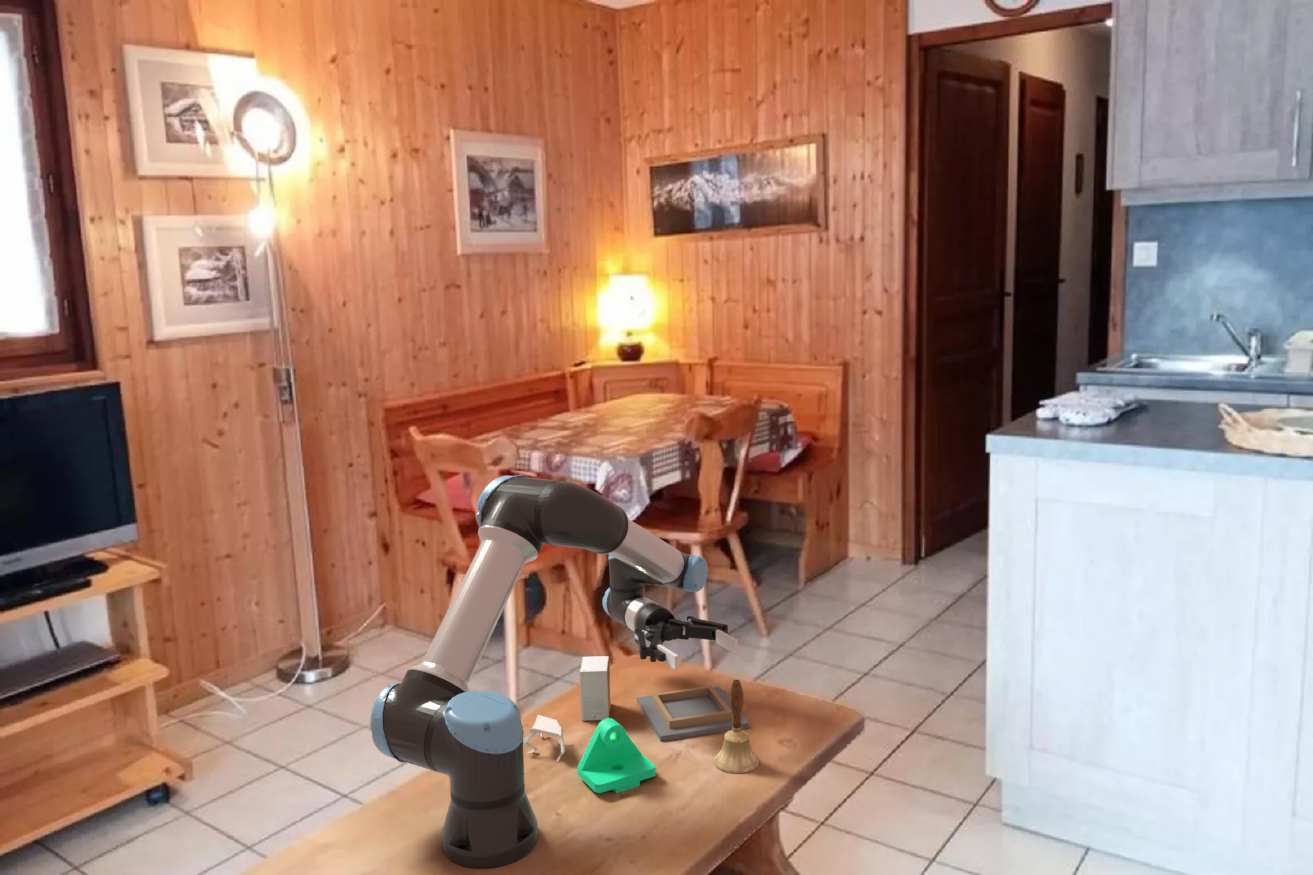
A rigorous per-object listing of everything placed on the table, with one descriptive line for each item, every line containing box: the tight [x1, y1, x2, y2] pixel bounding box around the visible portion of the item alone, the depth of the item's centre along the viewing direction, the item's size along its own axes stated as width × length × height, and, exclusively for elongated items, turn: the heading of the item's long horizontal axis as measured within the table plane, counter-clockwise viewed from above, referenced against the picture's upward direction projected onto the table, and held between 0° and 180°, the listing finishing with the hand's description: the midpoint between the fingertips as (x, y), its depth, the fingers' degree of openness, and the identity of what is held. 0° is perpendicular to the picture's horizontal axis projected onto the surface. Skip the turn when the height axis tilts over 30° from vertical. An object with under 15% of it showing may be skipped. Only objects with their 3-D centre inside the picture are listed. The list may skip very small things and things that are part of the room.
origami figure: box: [523, 714, 566, 762], centre depth 194 cm, size 12×8×5 cm
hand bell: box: [713, 679, 760, 774], centre depth 187 cm, size 8×8×16 cm
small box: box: [579, 655, 611, 722], centre depth 209 cm, size 8×6×10 cm
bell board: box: [636, 685, 750, 742], centre depth 208 cm, size 18×18×2 cm
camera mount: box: [577, 717, 657, 794], centre depth 182 cm, size 12×8×10 cm, turn 120°
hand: (707, 654), depth 197 cm, fingers open, 13 cm apart
